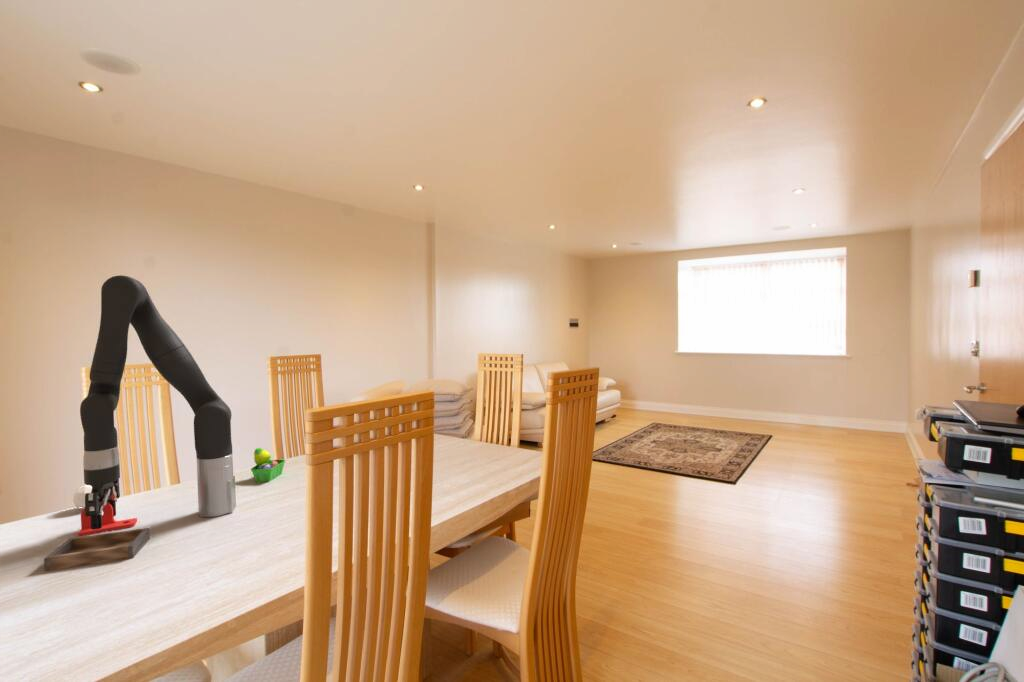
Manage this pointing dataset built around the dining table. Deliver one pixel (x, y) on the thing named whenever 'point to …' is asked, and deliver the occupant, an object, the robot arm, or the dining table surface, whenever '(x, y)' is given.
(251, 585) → the dining table surface
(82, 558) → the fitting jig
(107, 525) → the bracket
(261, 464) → the fruit basket
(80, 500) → the geometric ball
